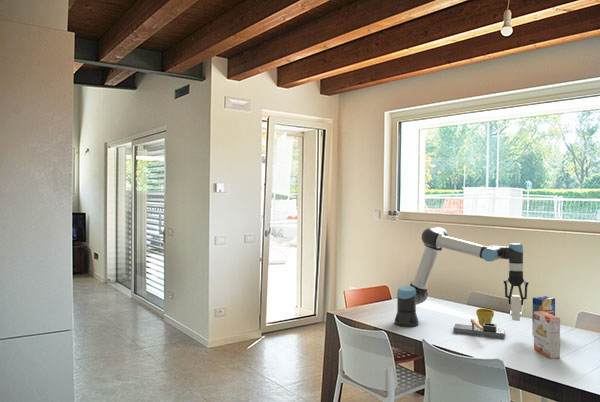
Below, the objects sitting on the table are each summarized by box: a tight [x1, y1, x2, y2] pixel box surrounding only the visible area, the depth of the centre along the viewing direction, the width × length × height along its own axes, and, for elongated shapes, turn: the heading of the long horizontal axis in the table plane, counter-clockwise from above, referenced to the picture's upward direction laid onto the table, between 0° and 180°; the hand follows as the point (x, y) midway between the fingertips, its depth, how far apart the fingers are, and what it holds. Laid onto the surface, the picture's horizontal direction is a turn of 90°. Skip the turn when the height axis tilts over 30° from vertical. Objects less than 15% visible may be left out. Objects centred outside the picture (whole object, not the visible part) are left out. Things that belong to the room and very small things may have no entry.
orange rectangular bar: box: [470, 318, 483, 330], centre depth 271 cm, size 18×3×6 cm, turn 176°
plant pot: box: [476, 308, 495, 327], centre depth 298 cm, size 10×10×10 cm
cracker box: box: [533, 311, 561, 359], centre depth 244 cm, size 14×6×21 cm, turn 5°
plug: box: [509, 294, 523, 322], centre depth 271 cm, size 6×8×14 cm
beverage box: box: [531, 295, 556, 336], centre depth 279 cm, size 7×11×22 cm, turn 116°
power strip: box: [453, 322, 506, 340], centre depth 281 cm, size 28×10×6 cm, turn 64°
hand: (515, 310), depth 272 cm, fingers closed on plug, 4 cm apart
